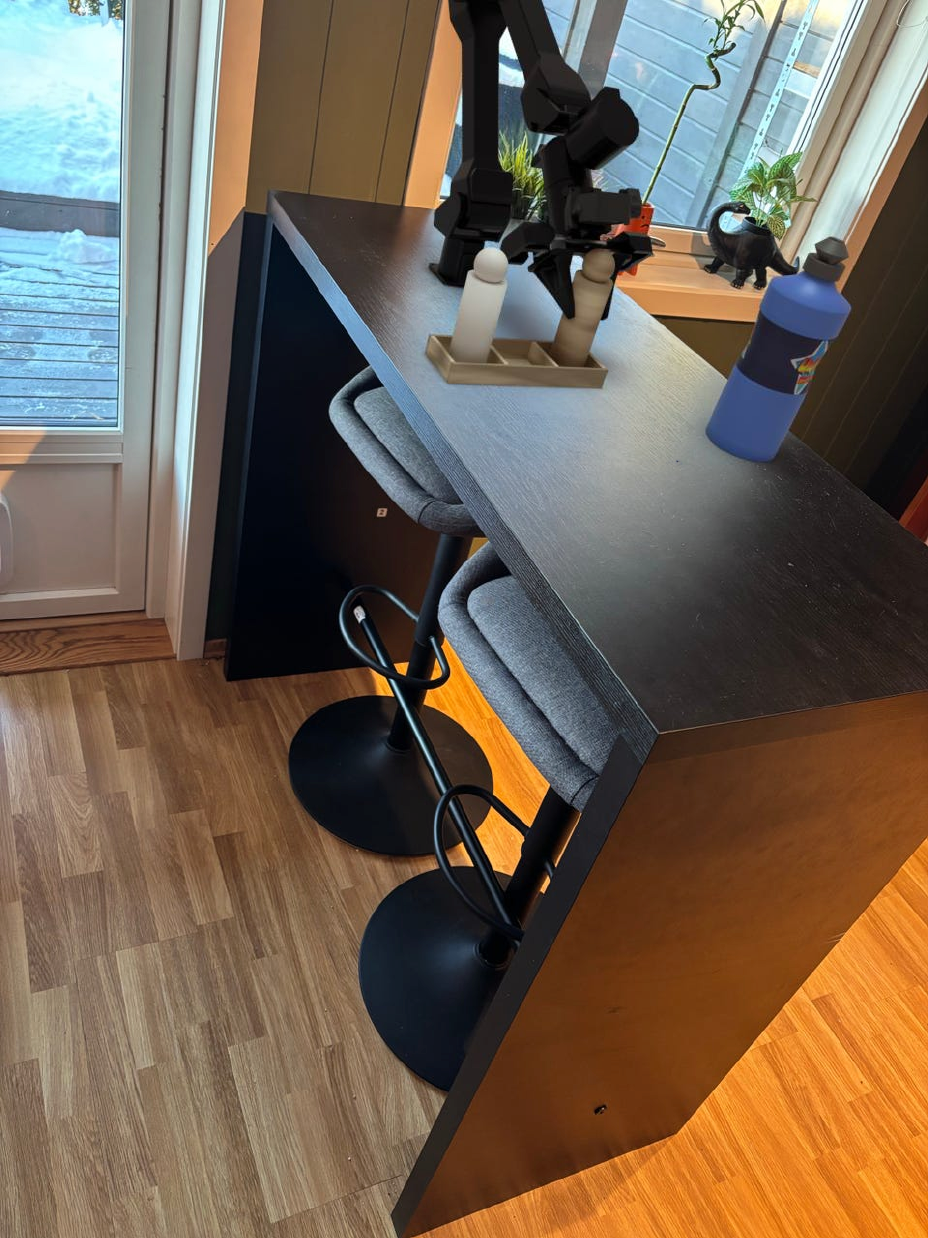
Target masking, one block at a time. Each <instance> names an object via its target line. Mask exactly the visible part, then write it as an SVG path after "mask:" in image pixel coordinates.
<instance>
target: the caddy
mask: <svg viewBox="0 0 928 1238" xmlns="http://www.w3.org/2000/svg"><path fill="white" fill-rule="evenodd" d="M452 336H453V334H452V335H451V334H437V333H436V334H435V333H433V334H432V333H429V334H428V339H427V343H426V346H425V351H424V354H425V356H426V357H427V358H428V360H429V361H430V362H431V363H432V365H433V366H434V367H435V369H436V370H437V371H438V372H439V374H440V375H441V377H442V378H443V379H444V381H445V382H446V383H447V384H448V385H450V384H451V385H475V386H481V385H482V386H483V385H484V386H509V387H512V386H513V387H515V386H517V387H538V388H539V387H541V388H542V387H546V388H547V387H548V388H575V389H578V388H579V389H603V386H604V383H605V381H606V378H607V376H608V373H609V369H608V368H607V367H606V366H605V365H604V364H603V363H602V362H601V361H599V359H597V357H595V355H594V354H592V353H591V352H590V351H589V354H588V357H587V360H586V363H585V366H584V367H561V366H558V365H557V364H556V363H555V362H554V361H553V360H552V359H551V358H550V357H549V353H550V350H551V347H552V344H553V341H554V340H543V339H542V340H541V339H540V340H539V339H526V338H525V339H524V338H506V337H505V338H504V337H503V338H502V337H493V340H492V344H491V348H490V352H489V355H488V359H487V363H467V362H455V361H454V360H453V358H452V357H451V356H450V355H449V348H450V344H451V340H452Z"/></svg>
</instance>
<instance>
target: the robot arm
mask: <svg viewBox="0 0 928 1238" xmlns="http://www.w3.org/2000/svg"><path fill="white" fill-rule="evenodd" d="M447 5H448V14H449V22H450V23H451V26H452V27H453V29H454V31H455V33H456V35H457V37H458V39H459V41H460V43H461V113H462V114H461V151H462V152H461V164H460V165H459V167H458V169H457V171H456V173H455V174H454V176H453V178H452V180H451V181H450V186H449V187H450V190H449V195H448V196H447V198H446V199H444V200H443V202H442V203H441V204H440V205H439V206H437V207H436V208H435V209H434V215H433V227H434V229H436V230H437V231H438V232H439V233H440V234H442V236H443V237H444V240H443V244H442V248H441V254H440V257H439V261H438V263H434V262H430V263H429V265H428V268H429V269H430V270H431V271H432V272H433V273H434V274H435V275H436V276H437V278H438V279H439V280H440V281H441V282H442V283H443V284H444V285H451V286H459V287H460V286H462V287H464V286H465V282H466V278H467V274H468V272H469V271H470V270H474V261H475V258H476V256H477V254H478V253H479V252H480V251H482V250H483V249H485V246H486V242H492V243H495V244H499V243H500V241H501V243H500V246H499V250H501V251H502V252H503V253H504V254H505V256H506V257H507V260H508V265H513V266H514V265H515V266H522V265H524V264H525V263H526V261H528V259H529V258H530V257H529V253H532V259H533V260H532V263H530V265H528V266H527V268H526V269H527V272H528V273H532V274H534V276H535V277H536V278H537V279H538V280H539V281H540V283H541V284H542V285H543V287H544V288H545V289H546V290H547V292H548V293H549V294H550V296H551V297H552V298H553V300H554V301H555V303H556V304H557V306H558V308H560V310H561V312H562V313H564V315H565V316H566V318H567V319H568V320H571V319H573V318H574V317H575V301H574V293H573V286H572V282H573V280H572V272H571V265H572V263H573V257H585V256H586V255H587V253H589V252H590V251H592V250H594V249H604V250H607V251H608V252H609V253H610V254H611V255H612V256H613V258H614V262H615V269H614V272H613V274H612V276H611V277H610V278H609V279H611V280H612V282H613V286H612V289H611V291H610V294H609V297H608V300H607V303H606V306H605V309H604V311H603V314H602V317H601V320H600V322H604V321H606V320H607V319H608V318H609V314H610V310H611V304H612V299H613V294H614V289H615V284H616V281H617V277H618V276H619V275H618V274H619V273H622V272H627V271H629V270H630V269H633V268H634V267H635V266H637V265H638V264H640V263H641V262H643V261H645V260H646V259H648V258H650V257H652V256H653V255H654V251H653V250H654V249H653V244H652V237H651V236H649V235H648V234H647V233H645V232H638V231H630V230H629V231H627V230H622V231H621V232H619V233H618V234H616V235H615V236H614V237H612V238H610V239H609V240H601V236H603V235H608V234H609V233H611V232H612V231H613V229H612V226H617V225H624V226H630V225H631V220H635V219H639V218H640V216H641V214H642V210H643V209H642V208H643V200H642V196H641V193H640V192H641V191H640V188H634V187H627V188H619V189H618V192H614V191H603V190H602V188H599V187H594V183H593V175H592V171H599V170H602V169H603V168H605V167H606V166H607V165H608V164H609V163H611V161H613V160H614V159H616V158H617V157H618V156H619V155H621V154H622V153H624V152H625V150H627V149H628V148H629V147H631V146H632V145H633V144H634V143H635V142H636V141H637V140H638V137H639V133H640V122H639V119H638V117H637V116H636V114H635V111H634V110H633V108H632V107H631V105H629V104H628V102H626V101H625V100H624V99H623V98H621V97H622V96H621V92H620V88H617V87H611V86H606V85H605V86H603V87H602V88H601V89H600V90H599V91H598V92H597V93H596V95H595V96H594V98H592V97H591V93H590V92H589V90H588V87H587V86H586V84H585V83H584V81H583V79H582V77H581V76H580V74H579V73H578V72H577V71H576V70H574V69H573V67H572V66H570V65H569V64H568V63H567V62H566V60H564V58H563V55H562V53H561V51H560V48H559V45H558V42H557V39H556V36H555V34H554V31H553V27H552V25H551V22H550V19H549V17H548V14H547V11H546V8H545V5H544V2H543V0H447ZM506 29H507V30H508V34H509V36H510V40H511V42H512V46H513V48H514V52H515V55H516V57H517V60H518V63H519V67H520V69H521V73H522V76H523V81H524V82H523V83H524V84H523V86H522V89H521V92H520V95H519V100H520V105H521V110H522V114H523V120H524V123H525V126H526V128H527V130H528V131H529V132H531V133H533V134H541V135H547V136H548V135H549V136H553V137H552V138H551V139H549V141H548V142H547V143H545V144H544V143H539V145H538V147H537V151H536V152H535V154H534V155H533V156H532V157H531V161H530V164H529V166H530V167H531V168H533V169H540V170H541V171H542V179H543V187H544V195H545V202H544V203H543V204H542V205H540V212H541V216H548V222H549V223H545V222H533V221H523V222H521V223H520V224H519V225H518V226H517V227H516V228H514V229H513V230H512V231H511V232H509V233H508V234H507V235H506V236H504V237H503V235H504V233H505V231H506V229H507V227H508V226H509V224H510V222H511V219H512V216H513V211H514V210H513V206H514V204H515V203H514V193H513V191H514V175H513V173H512V172H511V171H505V170H504V167H503V166H502V165H501V163H500V158H499V154H500V153H499V151H500V149H499V148H500V147H499V146H500V145H499V141H500V140H499V137H500V135H499V133H500V132H499V130H500V129H499V128H500V127H499V125H500V123H499V121H500V118H499V117H500V113H499V112H500V111H499V110H500V41H501V39H502V37H503V35H504V33H505V32H506ZM502 238H503V239H502ZM501 239H502V240H501Z"/></svg>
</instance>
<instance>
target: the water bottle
mask: <svg viewBox="0 0 928 1238" xmlns="http://www.w3.org/2000/svg"><path fill="white" fill-rule="evenodd" d="M814 249H815V252H809V253H807V256H806V258H805V261H804V263H803V265H802V271H800V272H798V273H797V274H789V275H779V276H774V277H772V278H771V279H770V281H769V283H768V286H767V288H766V289H765V291H764V295H763V296H762V299H761V302H760V304H759V307H758V308H759V309H758V313H757V316H756V320H755V323H754V327H753V328H752V330H751V331H752V332H751V334H750V338H749V341H748V343H747V344H746V345H745V348H744V349H743V351H742V352H741V353H740V356H739V357H738V359H737V360H736V362H735V364H734V366H733V368H732V369H731V372H730V374H729V377H728V378H727V381H726V383H725V385H724V388H722V389H723V390H722V392H721V394H720V397H719V398H718V401H717V403H716V405H715V407H714V409H713V412H712V414H711V417H710V418H709V421H708V423H707V425H706V427H705V435H706V437H707V439H708V440H710V442H712V443H713V445H714V446H716V447H717V448H719V449H721V450H722V451H724V452H725V453H728V454H729V455H732V456H734V457H737V458H739V459H742V460H747V461H750V462H751V461H752V462H758V463H759V462H760V463H766V462H770V461H772V460H774V459H775V457H776V455H777V454H778V451H779V450H780V447H781V446H782V443H783V441H784V439H785V438H786V436H787V434H788V432H789V430H790V427H791V426H792V424H793V422H794V420H795V417H796V416H797V414H798V411H799V410H800V408H801V406H802V404H803V402H804V400H805V397H806V395H807V394H808V391H809V389H810V385H811V383H812V379H813V376H814V373H815V370H816V367H817V366H818V365H819V364H820V362H821V360H822V358H823V356H824V355H825V353H827V350H828V349H829V347H830V345H832V343H833V341H834V340H835V339H836V338H837V337H838V336H839V334H840V333H841V330H842V328H843V326H844V325H845V322H846V320H847V318H848V316H849V314H850V312H851V311H852V306H851V305H850V302H849V301H847V299H846V298H845V297H844V296H843V295H842V294H841V293H840V291H839V290H838V288H837V284H836V282H839V281H840V279H841V277H842V275H843V273H844V271H845V269H846V265H845V264H844V263H843V261H844V260H846V259H848V258H849V257H850V255H849V252H848V249H847V245H846V243H845V241H844V240H843V239H841V238H838V237H834V236H828V237H826V238H823V239H821V240H819V241H818V242H816V243H814Z"/></svg>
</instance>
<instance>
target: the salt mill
mask: <svg viewBox="0 0 928 1238" xmlns="http://www.w3.org/2000/svg"><path fill="white" fill-rule="evenodd" d="M508 269H509V264H508V260H507V257H506V256H505V254H504V253H503V252H502V251H501V250H500V248H498V247H492V246H489V247H486V248H485V247H484V249H483V250H482V251H480V252H479V253H478V254H477V256H476V258H475V261H474V270H470V271H469V272H468V274H467V278H466V282H465V286H463V291H462V295H461V299H460V303H459V308H458V313H457V316H456V320H455V323H454V329H453V332H452V335H453V336H452V340H451V344H450V348H449V355H450V356H451V357H452V358H453V360H454V361H455V362H467V363H487V359H488V355H489V352H490V348H491V344H492V340H493V338H495V337H494V336H495V332H496V330H497V325H498V321H499V317H500V315H501V310H502V308H503V307H502V306H503V303H504V298H505V296H506V292H507V288H508V284H509V282H508V281H507V279H506V278H505V277H506V275H507V274H508V271H509V270H508Z"/></svg>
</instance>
